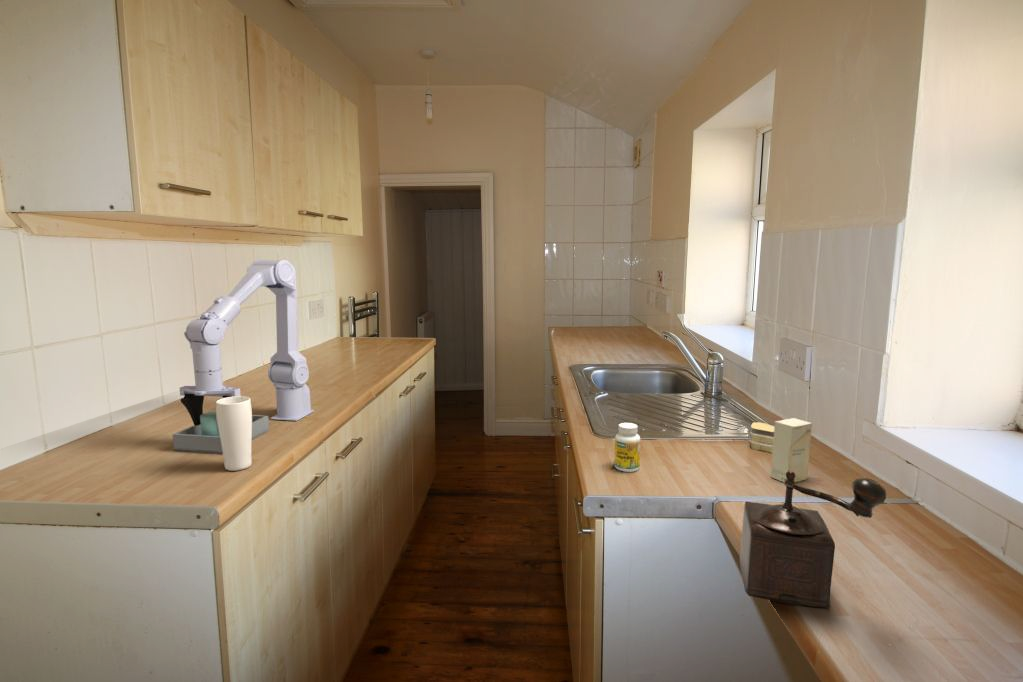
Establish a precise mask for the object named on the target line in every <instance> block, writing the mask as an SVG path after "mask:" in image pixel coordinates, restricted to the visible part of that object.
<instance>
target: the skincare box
mask: <svg viewBox="0 0 1023 682" xmlns="http://www.w3.org/2000/svg"><path fill="white" fill-rule="evenodd" d="M774 426H775V427H774V439H773V451H772V453H771V454H772V455H771V464H770V477H771V478H772V479H775V480H777V481H780V482H782V483H784V481H785V480H786V479H787V478H786V473H787V472H788V471H792V472H794V473H795V475H796V476H795V479H794V481H795V482H796V483H797V482H802V481H805V480H807V479H808V472H809V471H808V470H809V461H810V460H809V459H810V451H811V450H810V449H811V448H810V447H811V438H812V428H813V427H812V426H813V423H812V422H810V421H806V420H802V419H798V418H795V417H791V418H786V419H785V418H784V419H781V420H775V421H774Z"/></svg>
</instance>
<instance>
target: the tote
mask: <svg viewBox="0 0 1023 682" xmlns="http://www.w3.org/2000/svg"><path fill="white" fill-rule="evenodd" d="M269 421H270V420H269V415H261V414H252V441H254V439H257V438H258V437H261V436H262V435H264V434H266V433H267V432H269V431H270V422H269ZM172 443H173V444H172V445H173V451H175V452H186V453H187V452H188V453H199V454H200V453H202V454H215V455H216V454H217V455H223V451H222V446H221V440H220V436H205V435H202V433H201V424H200V425H198V426H194V424H193V425H192V426H189V427H187V428H185V429H182V430H179V431H177V432H175V433H173V434H172Z"/></svg>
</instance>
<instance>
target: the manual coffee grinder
mask: <svg viewBox="0 0 1023 682" xmlns="http://www.w3.org/2000/svg"><path fill="white" fill-rule="evenodd" d="M795 476H796V475H795V473H794V472H792V471H788V472H787V473H786V478H787V479H786V480H785V481H784V482H783V484H784V486H785V498H784V502H783V504H782V503H781V504H771V503H762V502H761V503H760V502H751V501H745V502H744V507H743V518H742V526H741V527H742V528H741V540H740V552H739V566H740V571H741V578H742V582H743V586H744V587H743V588H744V592H745V593H746V594H747V595H748V596H749V597H752V598H757V599H758V598H759V599H762V600H767V601H772V602H778V603H782V604H789V605H795V606H796V605H797V606H799V605H800V606H806V607H812V608H813V607H814V608H832V607H831V585H832V579H833V577H832V576H833V569H834V559H835V551H836V544H835V541H834V539H833V537H832V535H831V533H830V531H829V528H828V526H827V524H826V522H825V520H824V519H823V518H822V516H821V514H820V512H819V511H818V510H812V509H807V508H800V507H796V506H793V494H794V493H793V492H794V490H796V491H798V492H800V493H801V494H804V495H806V496H811V497H815V498H818V499H821V500H823V501H824V500H825V501H827V502H830V503H833V504H836V505H838V506H840V507H842V508H843V509H845V510H847V511H850V512H852V513H853V514H855V516H856V517H860V516H861V517H862V518H863V517H864V518H869V519H871V518H872V517H873V515H874V513H873V508H875V507H878V506H879V505H881V504H884V502H885V501H886V500H887V499H886V498H887V490H886V489H885V487H883V486H882V484H880V482H878V481H876V480H874V479H871V478H868V477H862V478H861V477H859V478H855V480H853V482H852V483H851V489H852V493H853V500H852V501H851V502H850V503H849V502H847V501H845V500H843V499H842V498H839V497H837V496H834V495H831V494H828V493H825V492H822V491H819V490H815V489H811V488H809V487H808V488H807V487H804V486H802V485H800V484H797V482H795V481H794V479H795Z"/></svg>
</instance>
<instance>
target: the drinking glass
mask: <svg viewBox="0 0 1023 682" xmlns="http://www.w3.org/2000/svg"><path fill="white" fill-rule="evenodd" d="M221 398H222V399H221ZM221 398H219V399H217V401H215V412H216V417H217V424H218V430H219V435H220V440H221V446H222V451H223V454H222V456H223V464H224V468H225V470H227V471H230V472H236V471H237V472H238V471H242V470H247V469H248V468H250V467H251V466H252V464H253V458H252V445H253V440H252V415H253V410H252V408H253V407H252V400H251V397H249V396H245V395H241V396H234V397H227V398H223V397H221Z"/></svg>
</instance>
